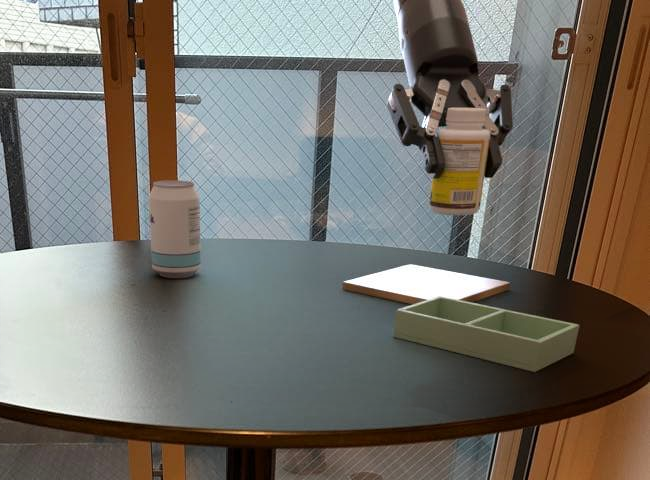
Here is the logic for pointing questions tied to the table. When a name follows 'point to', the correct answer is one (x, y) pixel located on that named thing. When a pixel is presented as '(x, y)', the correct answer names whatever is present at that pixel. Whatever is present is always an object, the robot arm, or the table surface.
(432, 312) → the divided tray
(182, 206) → the beverage can
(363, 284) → the mat
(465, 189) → the supplement bottle
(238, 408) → the table surface
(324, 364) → the table surface
